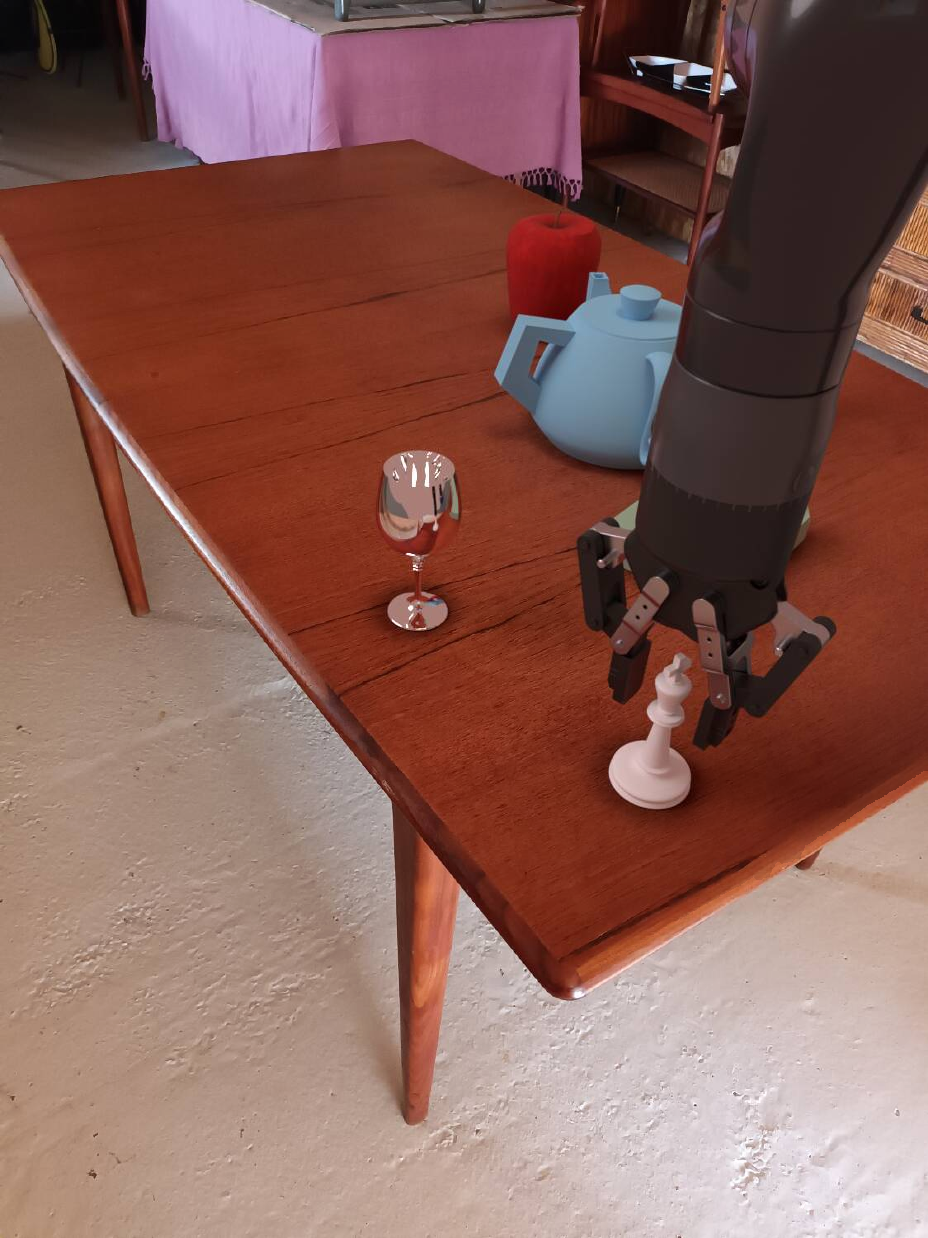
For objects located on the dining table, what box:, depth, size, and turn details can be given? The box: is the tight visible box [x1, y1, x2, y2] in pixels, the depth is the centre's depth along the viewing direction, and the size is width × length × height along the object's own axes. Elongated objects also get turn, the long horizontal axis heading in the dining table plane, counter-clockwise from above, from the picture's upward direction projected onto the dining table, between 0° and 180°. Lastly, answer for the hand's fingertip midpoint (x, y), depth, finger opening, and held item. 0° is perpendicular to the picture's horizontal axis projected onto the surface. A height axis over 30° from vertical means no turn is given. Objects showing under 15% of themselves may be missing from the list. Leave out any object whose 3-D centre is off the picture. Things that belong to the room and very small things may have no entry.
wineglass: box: [375, 449, 463, 632], centre depth 63 cm, size 6×6×12 cm
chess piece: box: [608, 651, 693, 810], centre depth 53 cm, size 5×5×10 cm
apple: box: [505, 208, 603, 323], centre depth 103 cm, size 11×10×14 cm
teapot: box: [493, 271, 682, 470], centre depth 85 cm, size 19×19×14 cm
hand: (664, 716), depth 53 cm, fingers open, 4 cm apart
